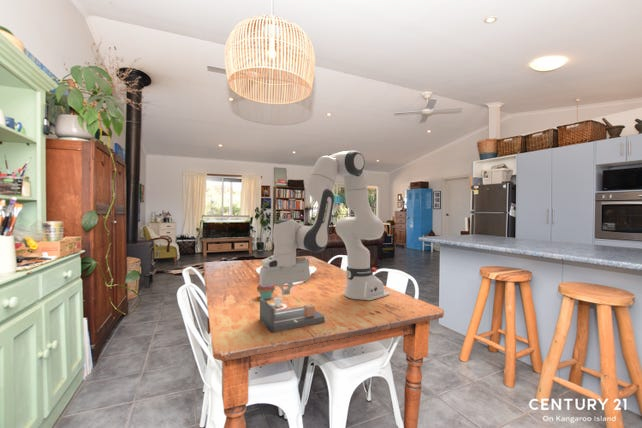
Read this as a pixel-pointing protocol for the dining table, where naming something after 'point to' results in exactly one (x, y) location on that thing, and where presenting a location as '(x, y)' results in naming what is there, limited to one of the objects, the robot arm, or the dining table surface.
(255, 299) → the dining table surface
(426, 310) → the dining table surface
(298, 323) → the console
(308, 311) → the terracotta fader knob
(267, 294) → the cupcake
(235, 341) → the dining table surface
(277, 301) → the teacup and saucer
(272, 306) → the cream fader knob
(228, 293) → the dining table surface
